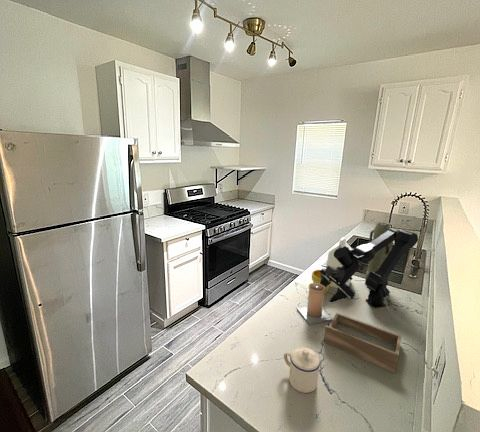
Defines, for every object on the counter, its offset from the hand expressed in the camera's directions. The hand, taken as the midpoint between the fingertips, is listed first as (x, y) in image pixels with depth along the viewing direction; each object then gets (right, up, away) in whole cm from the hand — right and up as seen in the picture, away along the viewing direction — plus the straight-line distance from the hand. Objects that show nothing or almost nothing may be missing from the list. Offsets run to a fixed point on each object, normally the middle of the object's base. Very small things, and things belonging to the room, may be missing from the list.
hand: (323, 296), depth 115 cm
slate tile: (-4, -9, +1) cm, 9 cm away
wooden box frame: (+10, -13, -16) cm, 23 cm away
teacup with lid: (-18, -17, -31) cm, 40 cm away
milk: (+17, -2, +30) cm, 34 cm away
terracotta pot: (-4, -8, +1) cm, 9 cm away
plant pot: (+5, -4, +21) cm, 22 cm away
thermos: (+36, -2, +28) cm, 46 cm away
